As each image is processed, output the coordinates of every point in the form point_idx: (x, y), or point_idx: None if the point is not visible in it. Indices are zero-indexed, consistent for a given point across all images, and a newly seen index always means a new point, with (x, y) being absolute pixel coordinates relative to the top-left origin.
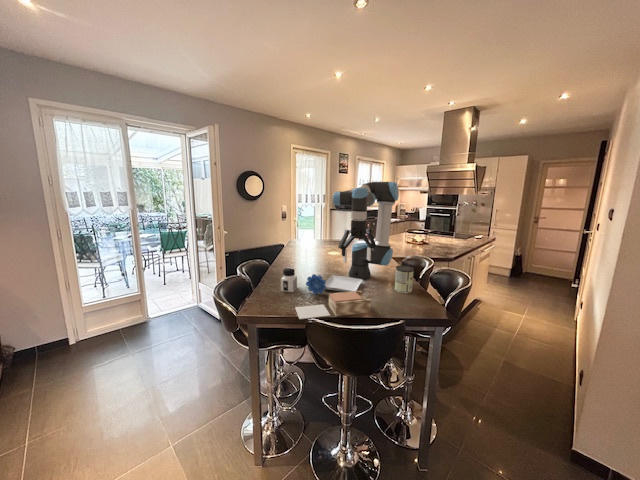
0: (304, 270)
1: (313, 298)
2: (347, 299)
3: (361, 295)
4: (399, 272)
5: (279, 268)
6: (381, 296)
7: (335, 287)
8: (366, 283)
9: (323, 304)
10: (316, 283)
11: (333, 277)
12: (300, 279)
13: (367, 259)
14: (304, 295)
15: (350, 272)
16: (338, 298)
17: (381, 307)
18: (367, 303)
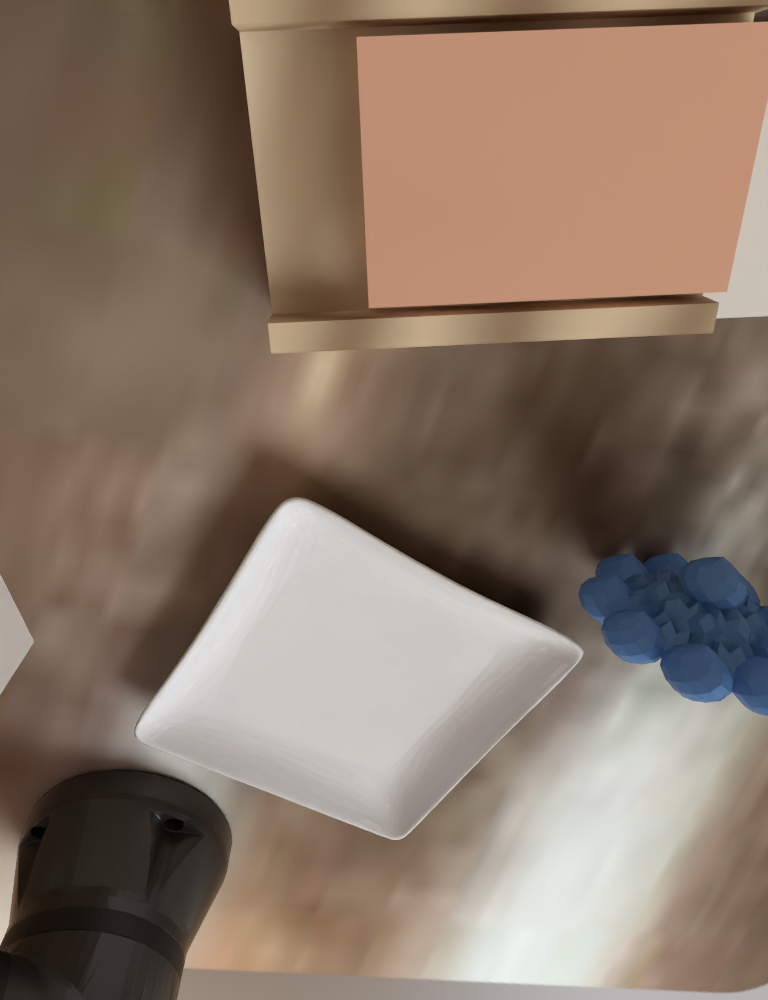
0: (555, 950)
1: (717, 477)
2: (585, 46)
3: (290, 277)
4: None
5: (718, 985)
6: (13, 411)
7: (434, 650)
8: (104, 703)
9: None
10: (731, 601)
11: (392, 811)
12: (654, 822)
13: (7, 611)
14: (765, 548)
15: (215, 866)
16: (691, 115)
17: (78, 126)
18: None
